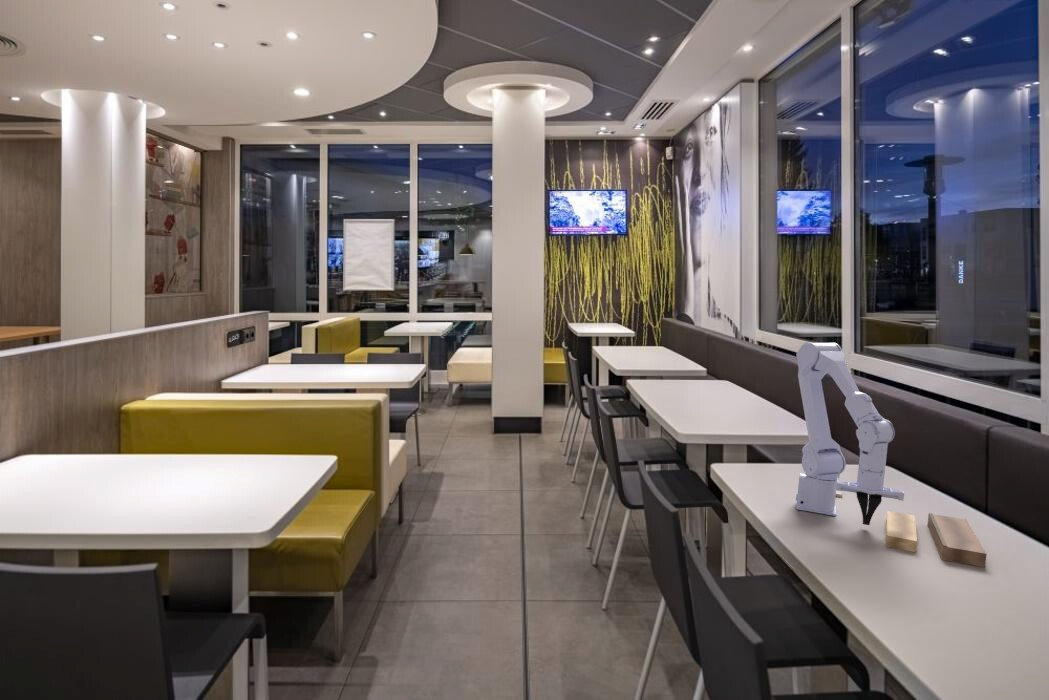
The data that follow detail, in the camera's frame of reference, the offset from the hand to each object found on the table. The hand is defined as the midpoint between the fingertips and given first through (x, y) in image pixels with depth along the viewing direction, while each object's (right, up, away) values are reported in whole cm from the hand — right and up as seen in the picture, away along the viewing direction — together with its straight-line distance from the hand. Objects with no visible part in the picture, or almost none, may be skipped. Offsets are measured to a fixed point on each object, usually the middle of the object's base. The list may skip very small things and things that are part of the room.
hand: (866, 523), depth 164 cm
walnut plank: (+17, -3, -7) cm, 19 cm away
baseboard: (+7, +2, +41) cm, 41 cm away
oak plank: (+7, -3, -3) cm, 8 cm away
